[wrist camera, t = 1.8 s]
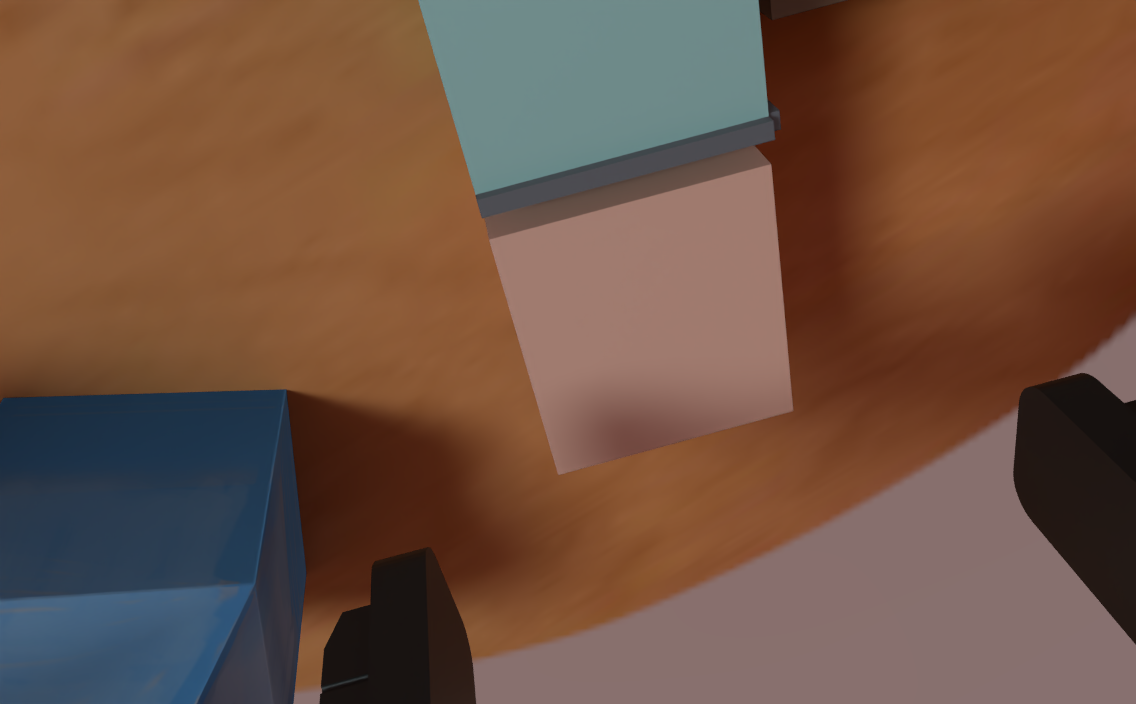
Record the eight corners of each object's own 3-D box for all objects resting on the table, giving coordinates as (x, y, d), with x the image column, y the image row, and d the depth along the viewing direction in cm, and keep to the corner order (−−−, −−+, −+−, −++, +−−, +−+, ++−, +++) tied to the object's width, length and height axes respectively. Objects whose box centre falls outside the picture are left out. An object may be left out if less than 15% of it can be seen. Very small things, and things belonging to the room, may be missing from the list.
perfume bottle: (3, 397, 21) (-344, 983, 11) (286, 389, 22) (202, 915, 12) (63, 588, 24) (-162, 1168, 14) (306, 572, 25) (253, 1102, 15)
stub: (463, 111, 19) (489, 239, 14) (672, 55, 19) (771, 164, 14) (520, 309, 22) (558, 475, 17) (702, 260, 22) (793, 411, 17)
